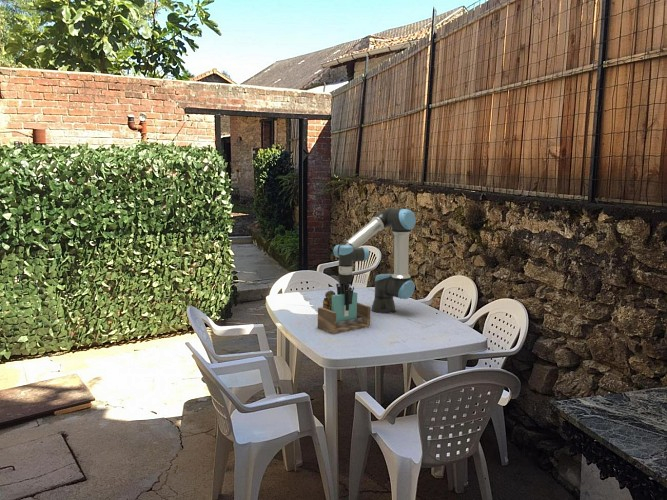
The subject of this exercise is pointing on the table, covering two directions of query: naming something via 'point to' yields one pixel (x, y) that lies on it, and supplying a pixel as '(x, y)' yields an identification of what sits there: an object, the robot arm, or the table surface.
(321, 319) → the wooden rack
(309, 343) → the table surface
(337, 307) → the door panel
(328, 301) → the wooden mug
